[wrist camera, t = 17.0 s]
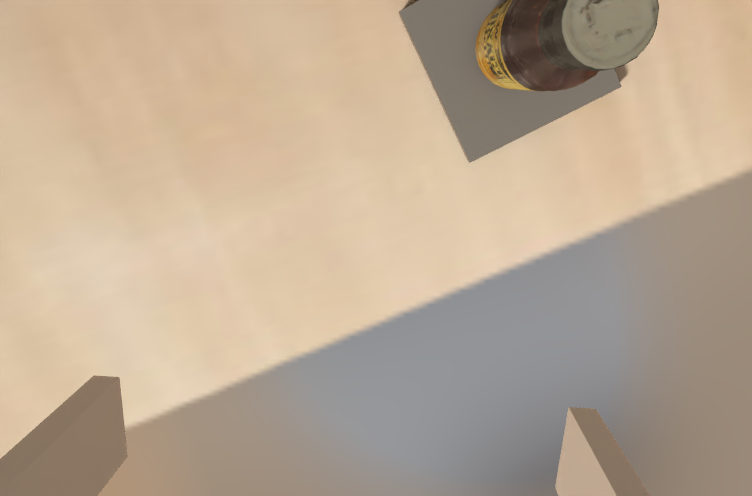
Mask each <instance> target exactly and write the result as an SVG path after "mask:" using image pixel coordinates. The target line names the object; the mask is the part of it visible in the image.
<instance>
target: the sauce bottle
mask: <svg viewBox="0 0 752 496" xmlns="http://www.w3.org/2000/svg"><path fill="white" fill-rule="evenodd" d="M658 11H659V5H658V0H505V2H503V3H502V4H501V5H499V6H498V7H496V8H495V9H494V10H493V11H492V12H491V13H490V14H489V15H488V16H487V17H486V19H485V20H484V21H483V23H482V25H481V27H480V29H479V32H478V35H477V39H476V50H475V52H476V58H477V62H478V65H479V67H480V69H481V71H482V73H483V74H484V75H485V76H486V77H487V78H488V79H489V80H490V81H491V82H492V83H494V84H495V85H498V86H500V87H503V88H507V89H517V90H528V91H542V92H545V91H558V90H566V89H570V88H573V87H576V86H578V85H580V84H582V83H584V82H585V81H587V80H589V79H591V78H592V77H594V76H595V75H597V73H598V72H599V71H604V70H609V69H614V68H617V67H620V66H623V65H625V64H627V63H628V62H630V61H632V60H633V59H635V58H637V56H638V55H639V54H640V53H641V52H642V51H643V50H644V49H645V48H646V46H647V45H648V43H649V42H650V40H651V38H652V37H653V35H654V32H655V29H656V25H657V18H658Z"/></svg>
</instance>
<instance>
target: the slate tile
mask: <svg viewBox="0 0 752 496" xmlns="http://www.w3.org/2000/svg"><path fill="white" fill-rule="evenodd" d="M503 2H505V0H419V1H417V2H415V3H413V4H412V5H410V6H408V7H406V8H405V9H403V10H401V11H399V15H400V17H401V20H402V22H403V24H404V26H405V28H406V30H407V32H408V35H409V37H410V39H411V41H412V43H413V45H414V47H415V49H416V52H417V54H418V56H419V58H420V60H421V62H422V64H423V66H424V69H425V71H426V73H427V75H428V77H429V79H430V81H431V83H432V86H433V88H434V90H435V92H436V94H437V96H438V98H439V100H440V103H441V105H442V107H443V109H444V111H445V113H446V115H447V118H448V120H449V122H450V124H451V126H452V128H453V130H454V132H455V135H456V137H457V139H458V141H459V143H460V145H461V147H462V149H463V152H464V154H465V156H466V158H467V160H468V162H469V163H470V162H472V161H474V160H476V159H478V158H480V157H482V156H484V155H486V154H488V153H490V152H492V151H494V150H496V149H498V148H500V147H502V146H504V145H506V144H508V143H510V142H512V141H514V140H516V139H518V138H520V137H522V136H524V135H526V134H528V133H530V132H532V131H534V130H536V129H538V128H540V127H542V126H544V125H546V124H548V123H550V122H552V121H554V120H556V119H558V118H560V117H562V116H564V115H566V114H568V113H570V112H572V111H574V110H576V109H578V108H580V107H582V106H584V105H586V104H588V103H590V102H592V101H594V100H596V99H598V98H600V97H602V96H604V95H606V94H608V93H610V92H612V91H614V90H616V89H618V88H620V87H621V84H620V81H619V79H618V76H617V74H616V71H615V68H614V69H609V70H604V71H599V72H598V73H597V75H595V76H594V77H592V78H591V79H589V80H587V81H585V82H584V83H582V84H580V85H578V86H576V87H573V88H570V89H566V90H558V91H545V92H542V91H528V90H517V89H507V88H503V87H500V86H498V85H495V84H494V83H492V82H491V81H490V80H489V79H488V78H487V77H486V76H485V75H484V74H483V73H482V71H481V69H480V67H479V65H478V62H477V58H476V52H475V50H476V39H477V35H478V32H479V29H480V27H481V25H482V23H483V21H484V20H485V19H486V17H487V16H488V15H489V14H490V13H491V12H492V11H493V10H494V9H495V8H496V7H498V6H499V5H501V4H502V3H503Z"/></svg>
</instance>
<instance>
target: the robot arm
mask: <svg viewBox="0 0 752 496" xmlns="http://www.w3.org/2000/svg"><path fill="white" fill-rule="evenodd" d="M126 458H127V447H126V437H125V428H124V418H123V408H122V398H121V389H120V379H119V377H107V376H93V377H92V378H91V379H90V380H88V381H87V382H86V383H85V384H84V385H83V386H82V387H81V388H79V389H78V390H77V391H76V392H75V393H74V394H73V395H72V396H71V397H69V398H68V399H67V400H66V401H65V402H64V403H63V404H62V405H60V406H59V407H58V408H57V409H56V410H55V411H54V412H53V413H51V414H50V415H49V416H48V417H47V418H46V419H45V420H44V421H42V422H41V423H40V424H39V425H38V426H37V427H36V428H35V429H34V430H32V431H31V432H30V433H29V434H28V435H27V436H26V437H25V438H23V439H22V440H21V441H20V442H19V443H18V444H17V445H16V446H14V447H13V448H12V449H11V450H10V451H9V452H8V453H7V454H6V455H4V456H3V457H2V458H1V459H0V496H97V495H98V494H99V492H100V491H101V490H102V489H103V488H104V486H105V485H106V484H107V483H108V481H109V480H110V479H111V477H112V476H113V475H114V473H115V472H116V471H117V470H118V468H119V467H120V466H121V464H122V463H123V462H124V460H125V459H126ZM555 488H556V490H557V493H558V496H650V495H649V493H648V492H647V490H646V488H645V487H644V485H643V484H642V482H641V481H640V479H639V477H638V476H637V474H636V473H635V471H634V469H633V468H632V466H631V464H630V463H629V461H628V460H627V458H626V457H625V455H624V453H623V452H622V450H621V448H620V447H619V445H618V444H617V442H616V440H615V439H614V437H613V436H612V434H611V433H610V431H609V429H608V428H607V426H606V424H605V423H604V421H603V420H602V418H601V417H600V415H599V414H598V412H597V410H596V409H588V408H573V407H569V409H568V415H567V421H566V427H565V432H564V439H563V444H562V451H561V456H560V462H559V468H558V474H557V480H556V486H555Z"/></svg>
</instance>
